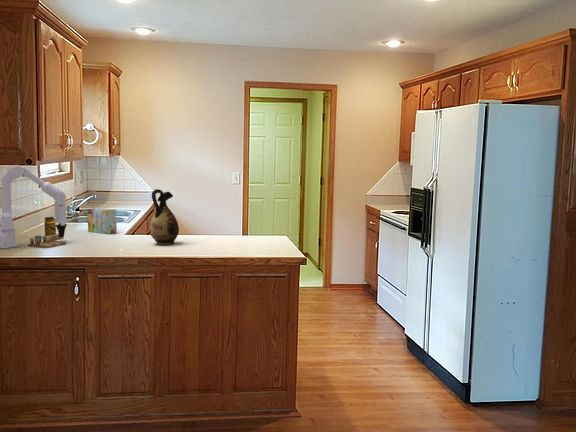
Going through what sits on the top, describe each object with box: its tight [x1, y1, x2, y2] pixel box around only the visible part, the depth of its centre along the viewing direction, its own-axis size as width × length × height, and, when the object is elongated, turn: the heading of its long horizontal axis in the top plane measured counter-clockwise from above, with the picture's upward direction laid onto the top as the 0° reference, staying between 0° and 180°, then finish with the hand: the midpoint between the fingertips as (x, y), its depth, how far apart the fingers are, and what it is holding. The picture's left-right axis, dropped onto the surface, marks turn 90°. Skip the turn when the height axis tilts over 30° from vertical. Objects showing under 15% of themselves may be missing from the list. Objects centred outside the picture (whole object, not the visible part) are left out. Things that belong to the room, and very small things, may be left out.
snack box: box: [86, 207, 118, 235], centre depth 354 cm, size 21×6×15 cm, turn 58°
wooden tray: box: [27, 235, 67, 249], centre depth 308 cm, size 13×14×4 cm
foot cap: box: [34, 235, 43, 243], centre depth 316 cm, size 3×3×4 cm
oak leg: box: [44, 233, 65, 242], centre depth 317 cm, size 10×5×2 cm, turn 155°
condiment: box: [41, 216, 57, 240], centre depth 336 cm, size 7×8×12 cm
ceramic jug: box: [149, 188, 180, 246], centre depth 309 cm, size 17×15×30 cm
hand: (61, 237), depth 318 cm, fingers closed, pressing on oak leg
